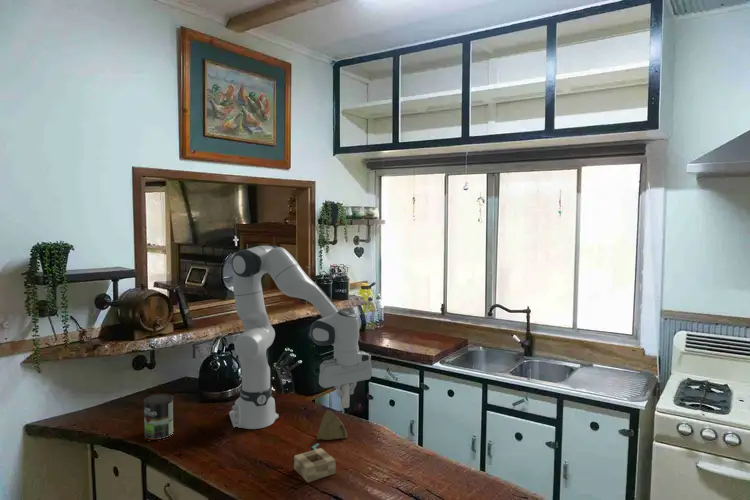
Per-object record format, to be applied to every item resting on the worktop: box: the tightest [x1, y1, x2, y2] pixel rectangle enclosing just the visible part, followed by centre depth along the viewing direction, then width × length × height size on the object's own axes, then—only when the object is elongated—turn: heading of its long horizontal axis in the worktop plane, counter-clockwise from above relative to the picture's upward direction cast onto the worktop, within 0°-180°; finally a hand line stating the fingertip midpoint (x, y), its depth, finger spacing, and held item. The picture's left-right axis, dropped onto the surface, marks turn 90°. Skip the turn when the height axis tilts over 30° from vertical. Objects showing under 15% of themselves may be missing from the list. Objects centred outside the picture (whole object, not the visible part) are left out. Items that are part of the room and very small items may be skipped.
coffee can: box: [143, 393, 174, 439], centre depth 187 cm, size 10×10×14 cm
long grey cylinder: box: [340, 383, 351, 409], centre depth 176 cm, size 3×3×10 cm
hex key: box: [311, 443, 320, 450], centre depth 176 cm, size 11×3×1 cm, turn 34°
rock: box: [316, 409, 348, 441], centre depth 186 cm, size 11×9×10 cm
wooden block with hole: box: [293, 447, 337, 483], centre depth 162 cm, size 10×10×4 cm
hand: (345, 395), depth 176 cm, fingers closed on long grey cylinder, 3 cm apart
